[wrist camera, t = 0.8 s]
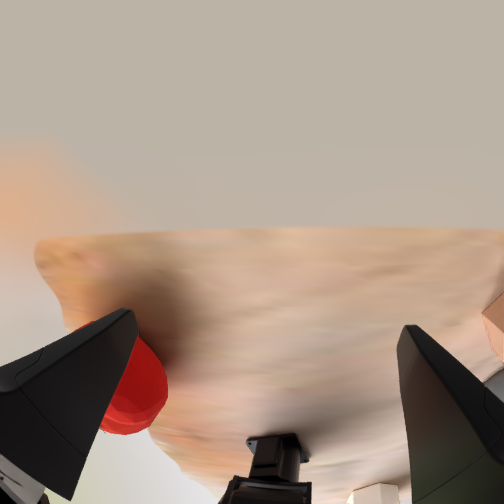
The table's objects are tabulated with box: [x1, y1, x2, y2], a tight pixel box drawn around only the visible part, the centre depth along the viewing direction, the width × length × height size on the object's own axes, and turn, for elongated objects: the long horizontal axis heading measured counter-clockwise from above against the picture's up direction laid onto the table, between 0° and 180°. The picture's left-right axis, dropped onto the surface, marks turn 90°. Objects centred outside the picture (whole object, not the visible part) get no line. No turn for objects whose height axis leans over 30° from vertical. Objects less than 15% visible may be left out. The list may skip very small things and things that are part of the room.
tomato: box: [72, 321, 168, 435], centre depth 24 cm, size 13×12×11 cm
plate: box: [484, 369, 504, 402], centre depth 22 cm, size 17×17×1 cm
